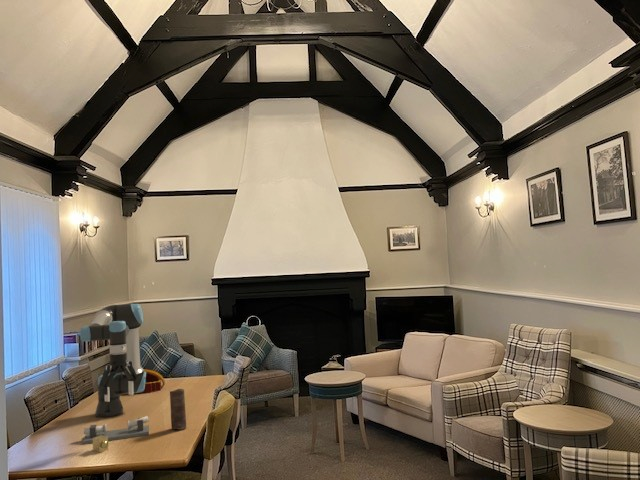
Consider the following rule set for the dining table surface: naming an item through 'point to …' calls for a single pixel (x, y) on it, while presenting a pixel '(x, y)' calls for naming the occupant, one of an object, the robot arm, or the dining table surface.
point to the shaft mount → (117, 431)
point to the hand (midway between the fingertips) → (119, 398)
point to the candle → (178, 409)
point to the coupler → (100, 443)
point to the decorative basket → (153, 381)
